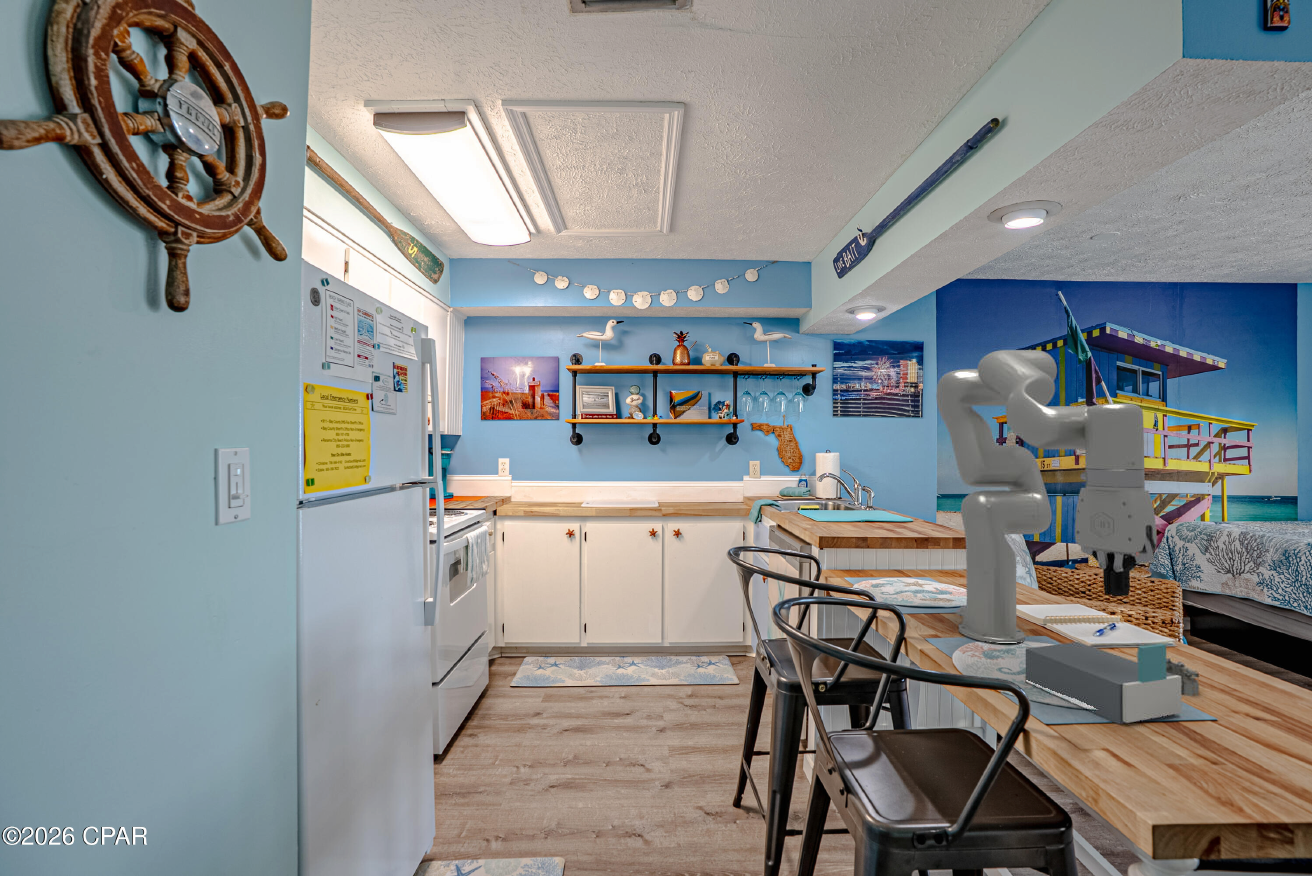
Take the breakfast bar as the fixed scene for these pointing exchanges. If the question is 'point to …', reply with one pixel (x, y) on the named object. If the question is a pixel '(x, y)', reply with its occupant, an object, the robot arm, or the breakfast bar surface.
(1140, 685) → the grey drawer
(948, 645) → the breakfast bar surface
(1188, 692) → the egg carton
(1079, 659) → the sleeve
